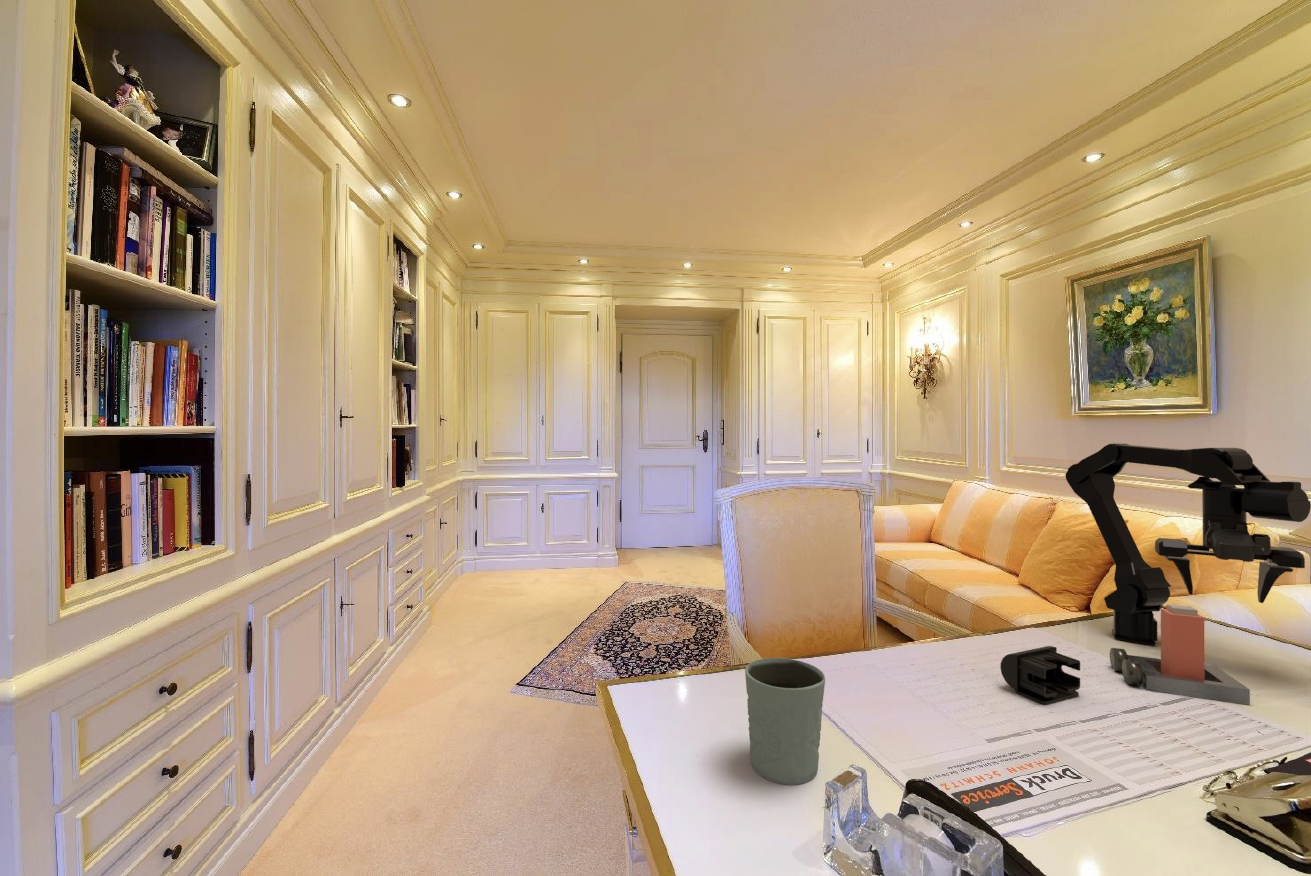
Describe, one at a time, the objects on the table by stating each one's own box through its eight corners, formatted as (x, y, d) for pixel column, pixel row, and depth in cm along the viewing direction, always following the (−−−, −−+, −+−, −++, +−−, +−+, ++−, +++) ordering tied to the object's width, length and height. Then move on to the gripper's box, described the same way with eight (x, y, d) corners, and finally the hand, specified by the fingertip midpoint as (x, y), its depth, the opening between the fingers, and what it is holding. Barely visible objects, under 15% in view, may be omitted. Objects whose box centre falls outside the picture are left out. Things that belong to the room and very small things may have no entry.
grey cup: (737, 777, 68) (738, 681, 68) (752, 736, 78) (752, 652, 78) (822, 796, 65) (822, 694, 65) (826, 750, 74) (827, 662, 74)
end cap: (1038, 678, 97) (1038, 640, 97) (1082, 696, 91) (1082, 655, 91) (999, 688, 94) (999, 648, 94) (1042, 706, 87) (1042, 664, 87)
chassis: (1109, 665, 103) (1109, 644, 103) (1216, 680, 97) (1215, 657, 97) (1130, 687, 94) (1130, 664, 94) (1249, 705, 88) (1249, 680, 88)
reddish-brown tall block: (1160, 678, 97) (1160, 602, 97) (1193, 683, 95) (1193, 606, 96) (1170, 687, 94) (1169, 608, 94) (1204, 691, 92) (1204, 611, 92)
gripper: (1163, 515, 101) (1164, 599, 101) (1317, 524, 90) (1318, 619, 90) (1154, 509, 110) (1154, 587, 110) (1292, 516, 99) (1293, 603, 99)
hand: (1224, 598), depth 102 cm, fingers open, 9 cm apart
